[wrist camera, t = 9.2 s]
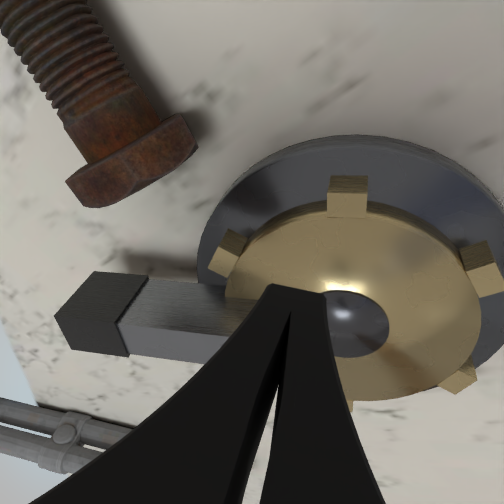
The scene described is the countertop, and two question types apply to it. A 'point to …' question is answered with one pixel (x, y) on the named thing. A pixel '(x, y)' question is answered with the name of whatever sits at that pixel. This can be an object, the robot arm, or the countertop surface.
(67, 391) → the countertop surface
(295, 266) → the brass turntable dial
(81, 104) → the bolt
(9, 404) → the metal rod assembly
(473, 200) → the disc
